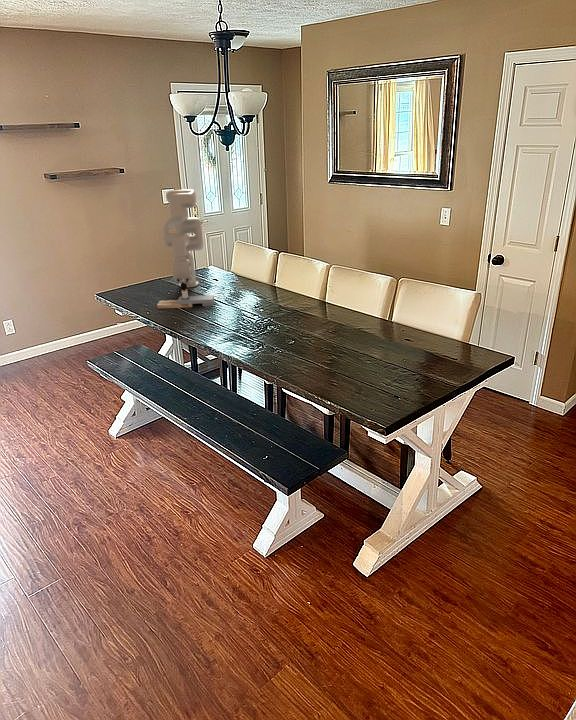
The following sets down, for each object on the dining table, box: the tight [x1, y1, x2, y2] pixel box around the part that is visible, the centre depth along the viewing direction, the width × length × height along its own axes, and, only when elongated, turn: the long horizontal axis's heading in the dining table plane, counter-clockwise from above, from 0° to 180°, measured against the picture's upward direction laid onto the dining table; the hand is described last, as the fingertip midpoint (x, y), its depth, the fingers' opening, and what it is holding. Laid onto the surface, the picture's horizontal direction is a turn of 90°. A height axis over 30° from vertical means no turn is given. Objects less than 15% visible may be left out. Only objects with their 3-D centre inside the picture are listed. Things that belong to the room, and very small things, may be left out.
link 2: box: [177, 294, 215, 307], centre depth 314 cm, size 8×20×4 cm, turn 92°
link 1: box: [156, 299, 194, 310], centre depth 314 cm, size 8×20×2 cm, turn 91°
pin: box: [181, 288, 189, 300], centre depth 313 cm, size 3×3×9 cm
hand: (184, 289), depth 310 cm, fingers closed
